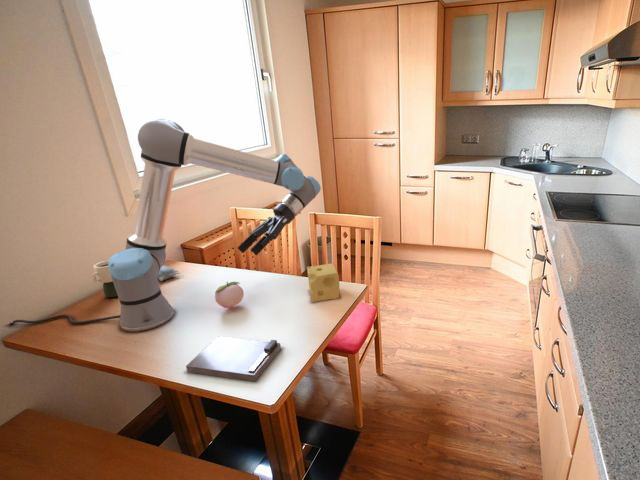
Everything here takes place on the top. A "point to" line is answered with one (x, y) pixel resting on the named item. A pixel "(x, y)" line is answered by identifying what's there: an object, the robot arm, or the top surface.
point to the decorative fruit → (229, 295)
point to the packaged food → (166, 273)
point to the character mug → (104, 278)
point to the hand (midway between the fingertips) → (246, 251)
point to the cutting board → (235, 358)
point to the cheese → (323, 282)
